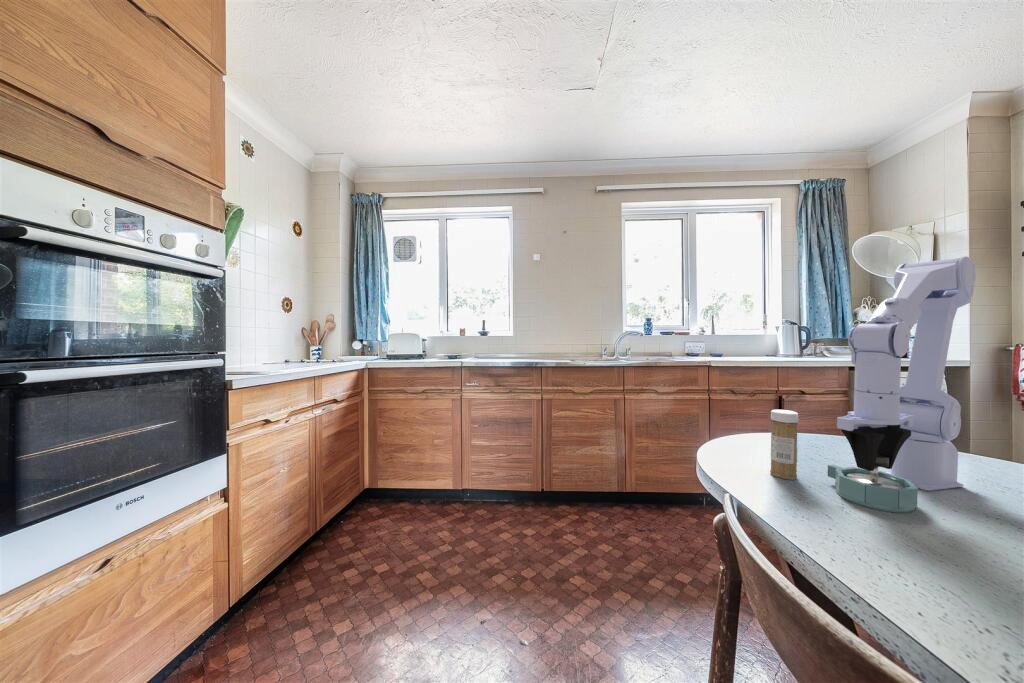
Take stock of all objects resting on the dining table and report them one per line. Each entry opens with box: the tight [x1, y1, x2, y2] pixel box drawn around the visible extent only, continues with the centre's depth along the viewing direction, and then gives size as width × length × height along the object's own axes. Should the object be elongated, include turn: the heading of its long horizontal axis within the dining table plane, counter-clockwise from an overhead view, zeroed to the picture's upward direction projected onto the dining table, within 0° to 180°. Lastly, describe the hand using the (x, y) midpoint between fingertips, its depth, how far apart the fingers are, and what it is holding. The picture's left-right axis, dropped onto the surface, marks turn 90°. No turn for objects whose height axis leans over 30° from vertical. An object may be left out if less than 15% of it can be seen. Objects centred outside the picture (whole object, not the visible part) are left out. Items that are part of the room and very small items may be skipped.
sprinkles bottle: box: [769, 409, 799, 481], centre depth 76 cm, size 5×5×13 cm
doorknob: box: [846, 453, 903, 489], centre depth 66 cm, size 7×7×5 cm
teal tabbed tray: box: [827, 464, 919, 514], centre depth 67 cm, size 10×12×4 cm
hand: (874, 467), depth 66 cm, fingers closed on doorknob, 4 cm apart
